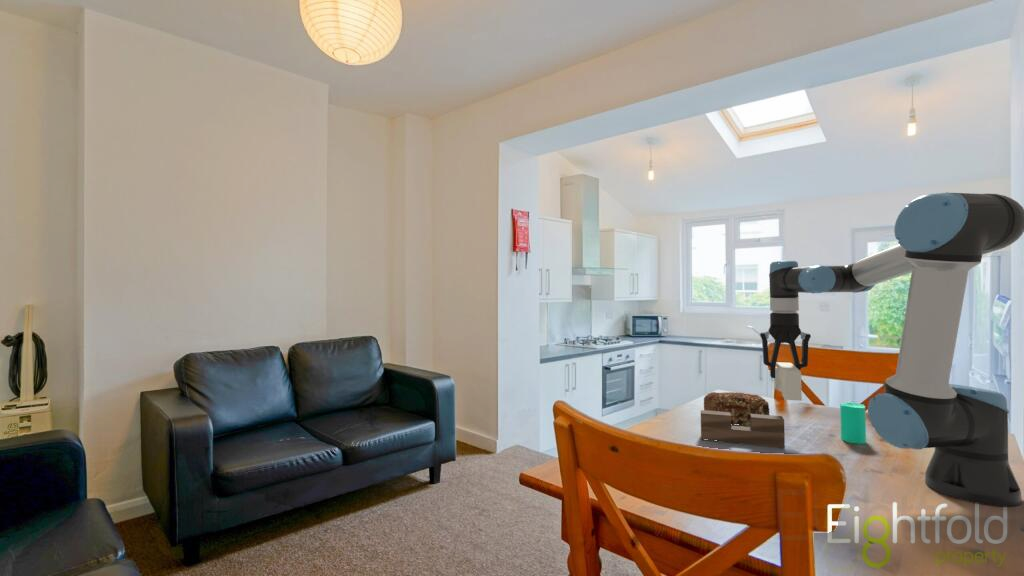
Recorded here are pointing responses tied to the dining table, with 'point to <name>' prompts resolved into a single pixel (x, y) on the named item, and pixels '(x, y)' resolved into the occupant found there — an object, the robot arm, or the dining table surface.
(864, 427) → the candle
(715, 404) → the bread
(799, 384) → the cream bar
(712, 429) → the walnut rail
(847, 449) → the dining table surface
